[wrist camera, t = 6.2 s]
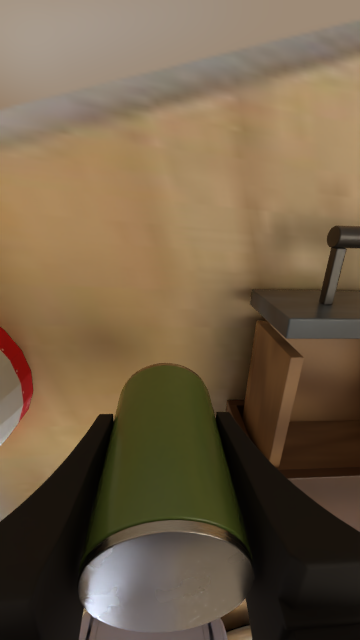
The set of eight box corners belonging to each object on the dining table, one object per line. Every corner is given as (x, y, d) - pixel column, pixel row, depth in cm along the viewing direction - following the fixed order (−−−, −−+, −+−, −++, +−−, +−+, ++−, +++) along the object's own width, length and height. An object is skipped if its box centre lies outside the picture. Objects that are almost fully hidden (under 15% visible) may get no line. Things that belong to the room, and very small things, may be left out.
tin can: (205, 433, 16) (245, 627, 8) (122, 436, 15) (84, 640, 8) (212, 361, 14) (269, 526, 6) (117, 362, 14) (62, 536, 6)
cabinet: (227, 399, 24) (255, 480, 17) (374, 397, 25) (463, 471, 18) (215, 499, 29) (234, 595, 21) (339, 493, 30) (397, 583, 22)
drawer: (260, 223, 18) (308, 224, 12) (439, 228, 19) (564, 233, 13) (234, 421, 24) (256, 485, 18) (370, 417, 25) (433, 478, 19)
